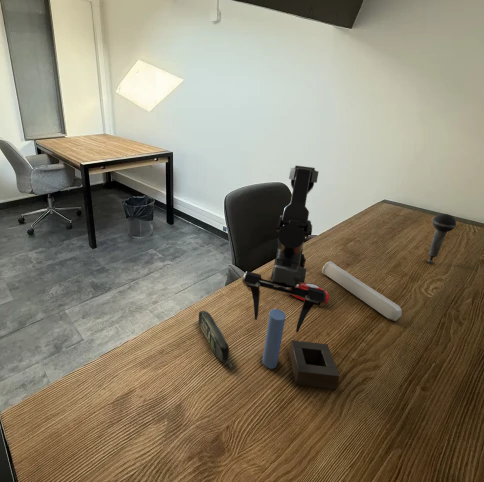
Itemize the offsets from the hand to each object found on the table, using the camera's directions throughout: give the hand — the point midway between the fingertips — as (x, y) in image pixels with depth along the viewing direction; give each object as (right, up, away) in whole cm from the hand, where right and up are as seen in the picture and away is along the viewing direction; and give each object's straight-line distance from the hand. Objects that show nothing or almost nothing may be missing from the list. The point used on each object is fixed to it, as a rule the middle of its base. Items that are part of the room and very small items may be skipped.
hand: (275, 325), depth 69 cm
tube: (+33, -2, +26) cm, 42 cm away
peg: (-1, -9, +2) cm, 9 cm away
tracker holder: (+16, -1, +25) cm, 30 cm away
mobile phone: (-14, -7, +6) cm, 17 cm away
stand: (+8, -10, 0) cm, 13 cm away
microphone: (+71, +4, +46) cm, 84 cm away
